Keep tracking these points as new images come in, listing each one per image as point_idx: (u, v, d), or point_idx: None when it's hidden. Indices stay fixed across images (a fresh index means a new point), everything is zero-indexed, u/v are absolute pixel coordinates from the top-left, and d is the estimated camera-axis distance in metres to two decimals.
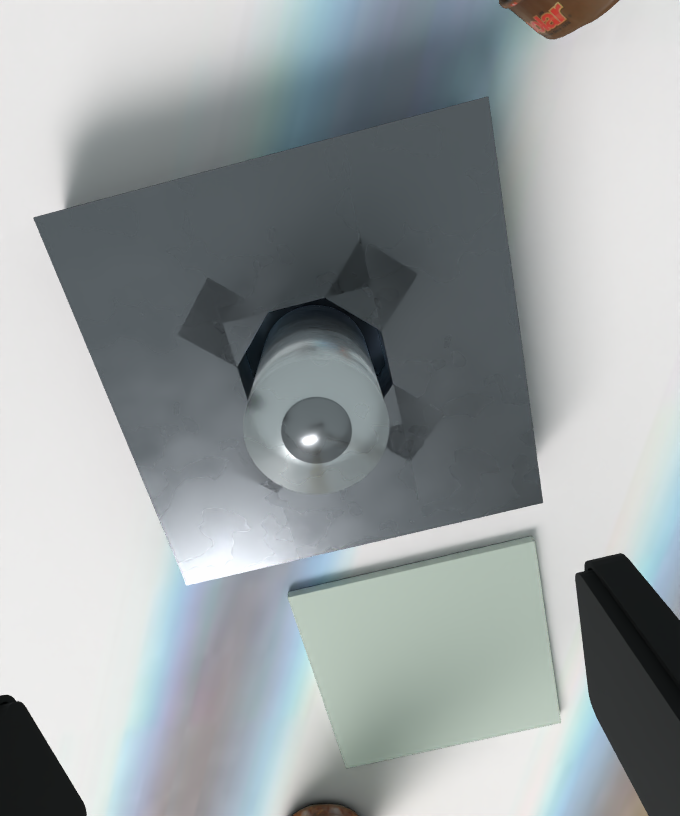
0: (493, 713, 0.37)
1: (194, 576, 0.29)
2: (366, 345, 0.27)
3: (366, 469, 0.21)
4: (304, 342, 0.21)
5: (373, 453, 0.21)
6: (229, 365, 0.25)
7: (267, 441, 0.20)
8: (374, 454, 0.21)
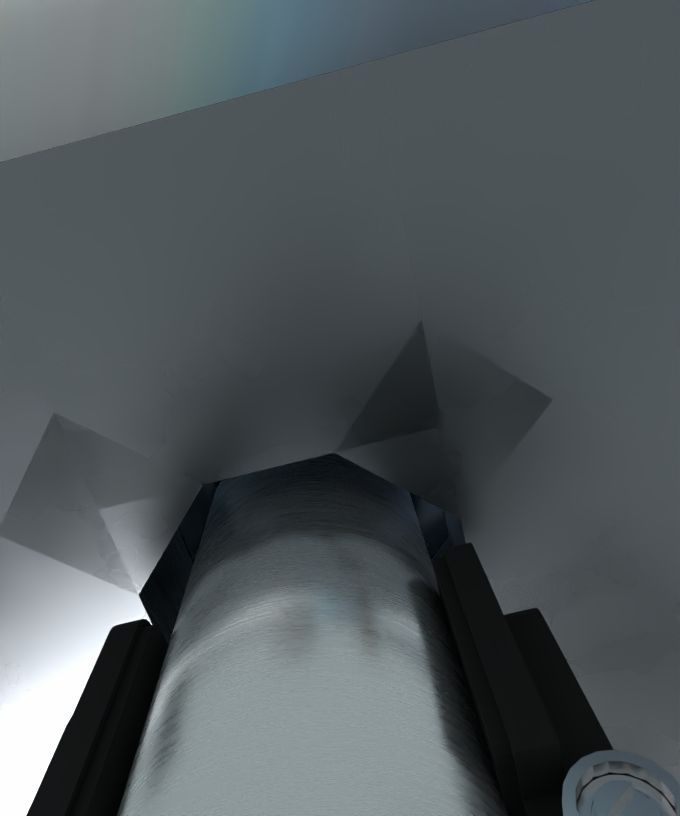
0: None
1: None
2: None
3: None
4: (279, 647, 0.07)
5: None
6: (121, 591, 0.11)
7: None
8: None
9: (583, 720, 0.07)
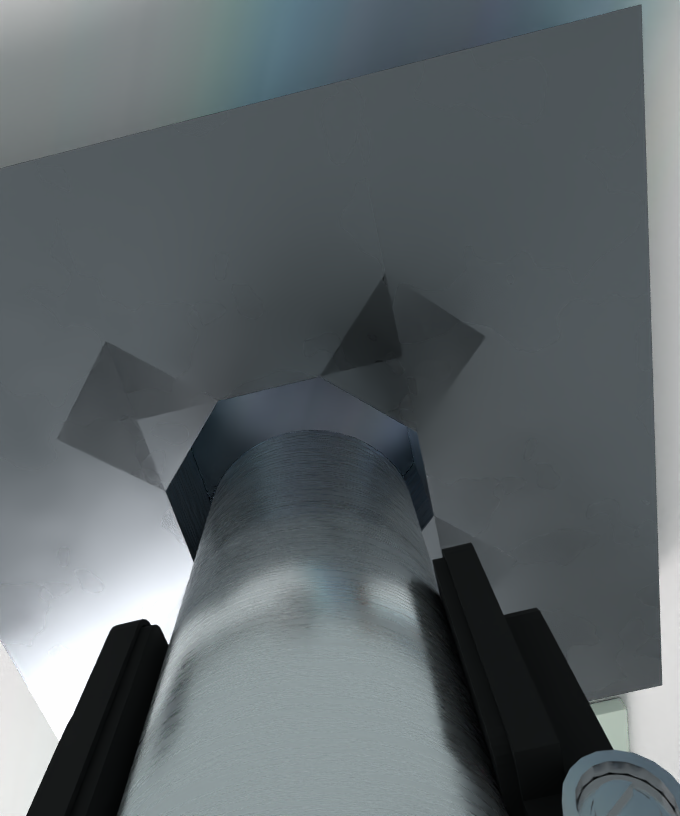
0: None
1: None
2: None
3: None
4: (279, 646, 0.07)
5: None
6: (152, 487, 0.15)
7: None
8: None
9: (583, 720, 0.07)
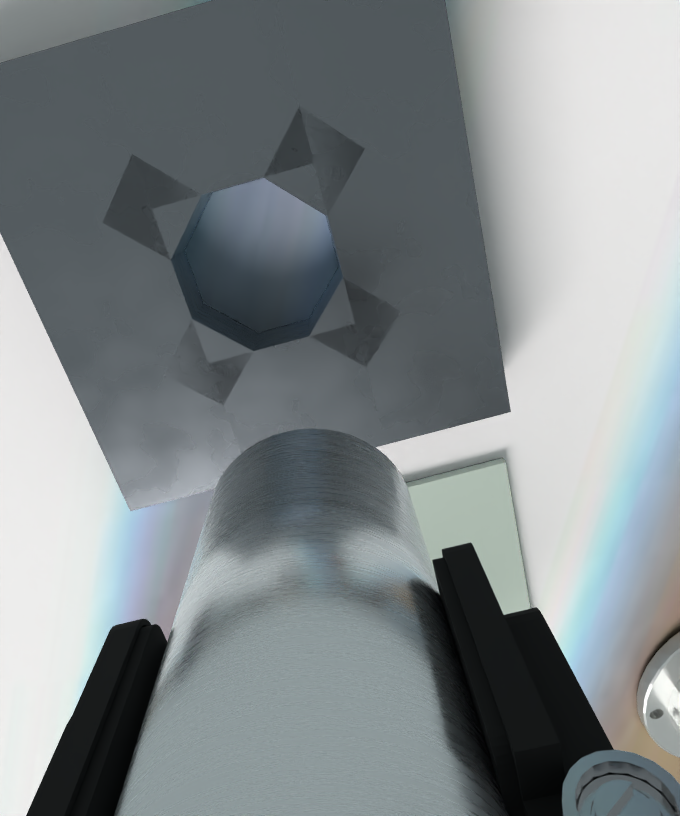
0: None
1: (138, 501, 0.27)
2: (417, 519, 0.13)
3: None
4: (277, 644, 0.07)
5: None
6: (162, 257, 0.23)
7: None
8: None
9: (583, 719, 0.07)
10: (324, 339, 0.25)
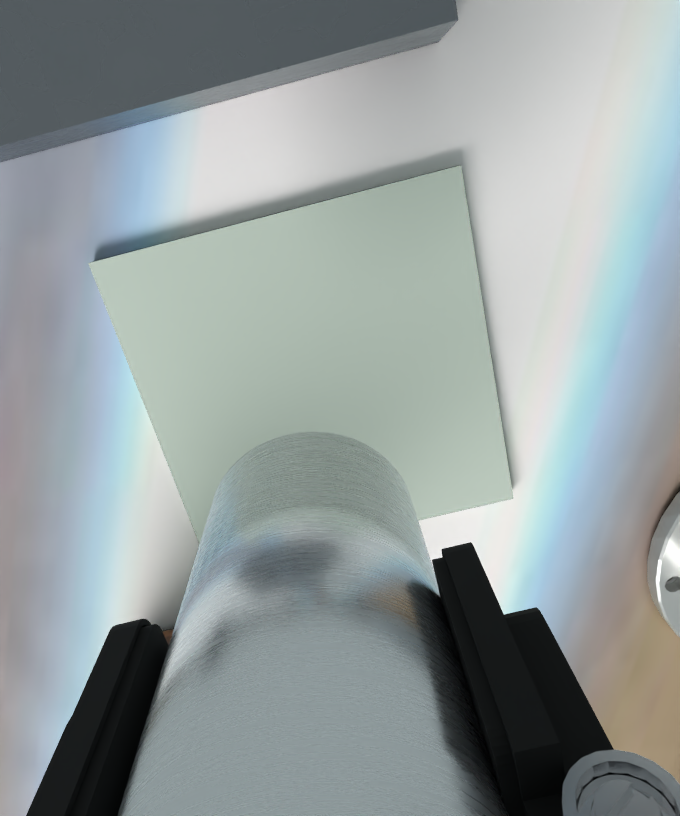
0: (414, 480, 0.26)
1: None
2: (418, 523, 0.13)
3: None
4: (279, 650, 0.07)
5: None
6: None
7: None
8: None
9: (583, 720, 0.07)
10: None
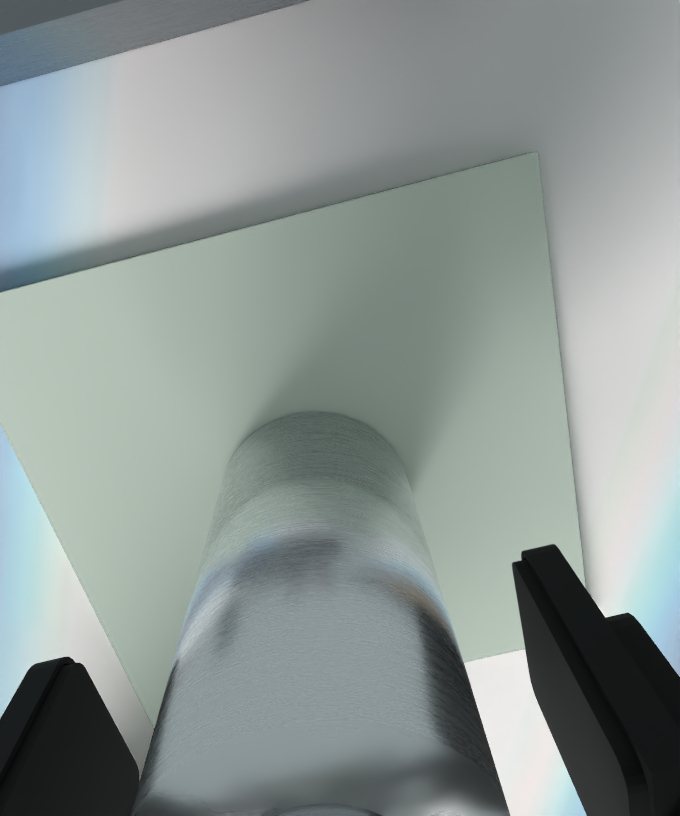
0: (450, 612, 0.18)
1: None
2: (411, 493, 0.14)
3: None
4: (288, 592, 0.09)
5: None
6: None
7: None
8: None
9: None
10: None
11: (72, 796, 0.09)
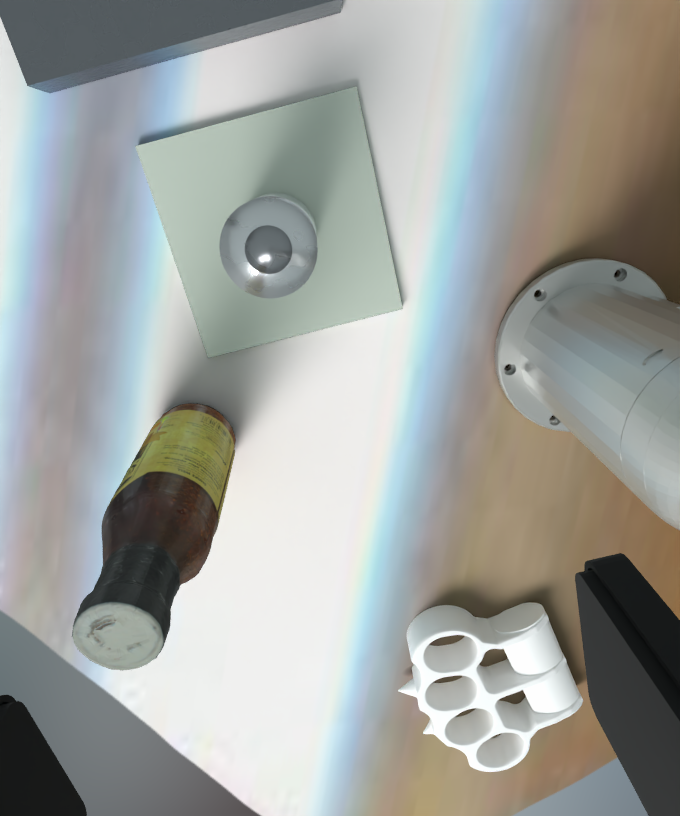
0: (338, 295, 0.40)
1: (33, 75, 0.32)
2: (313, 219, 0.37)
3: (303, 279, 0.31)
4: None
5: (307, 267, 0.31)
6: None
7: (236, 258, 0.30)
8: (308, 268, 0.31)
9: None
10: None
11: None
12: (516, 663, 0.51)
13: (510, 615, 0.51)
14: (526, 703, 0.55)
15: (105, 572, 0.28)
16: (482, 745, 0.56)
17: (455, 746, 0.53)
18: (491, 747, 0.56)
